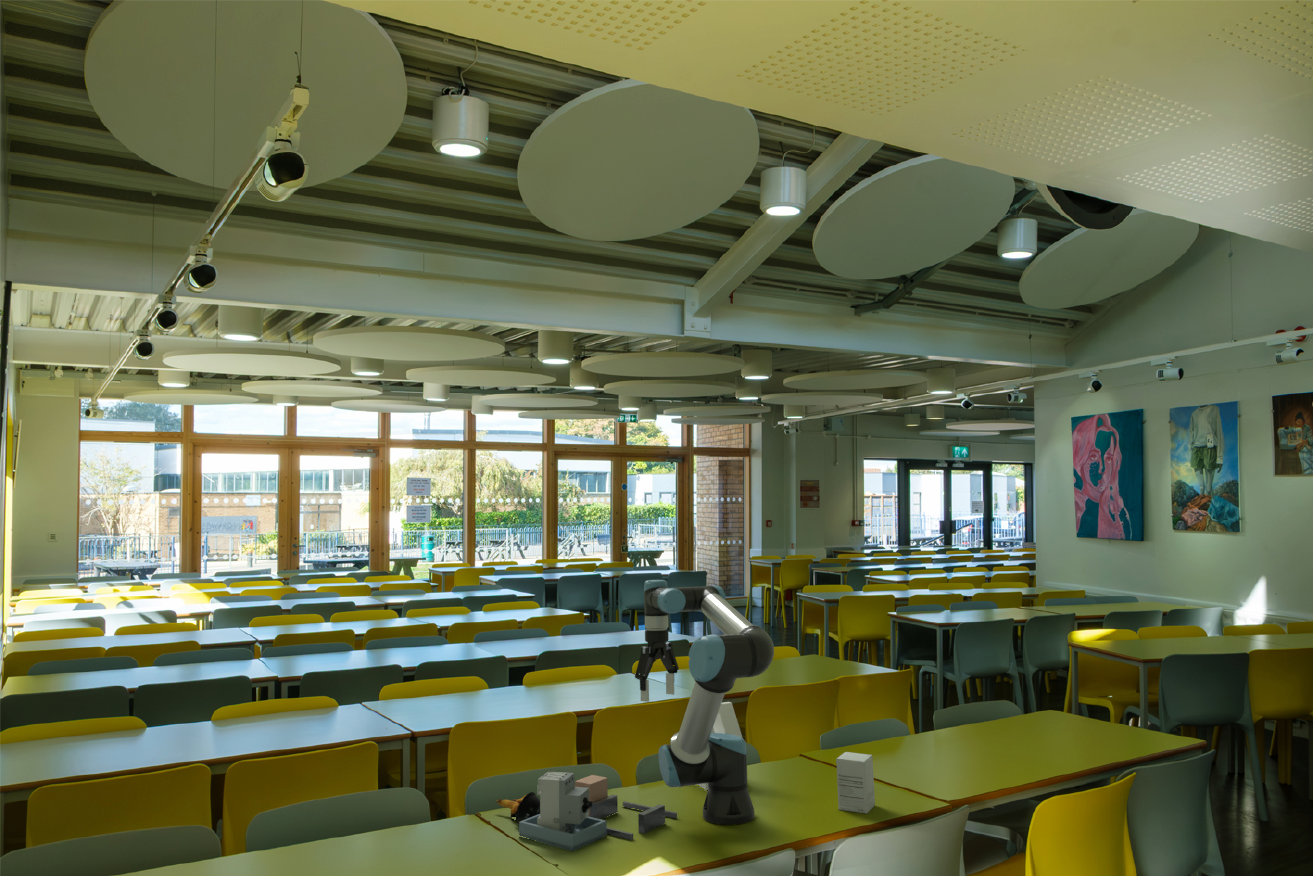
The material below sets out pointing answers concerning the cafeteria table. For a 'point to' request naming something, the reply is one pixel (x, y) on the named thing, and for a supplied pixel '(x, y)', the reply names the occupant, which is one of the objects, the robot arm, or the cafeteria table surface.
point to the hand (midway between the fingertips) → (657, 697)
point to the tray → (564, 833)
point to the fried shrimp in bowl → (522, 806)
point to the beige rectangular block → (594, 787)
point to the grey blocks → (646, 819)
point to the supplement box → (855, 782)
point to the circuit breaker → (562, 801)
